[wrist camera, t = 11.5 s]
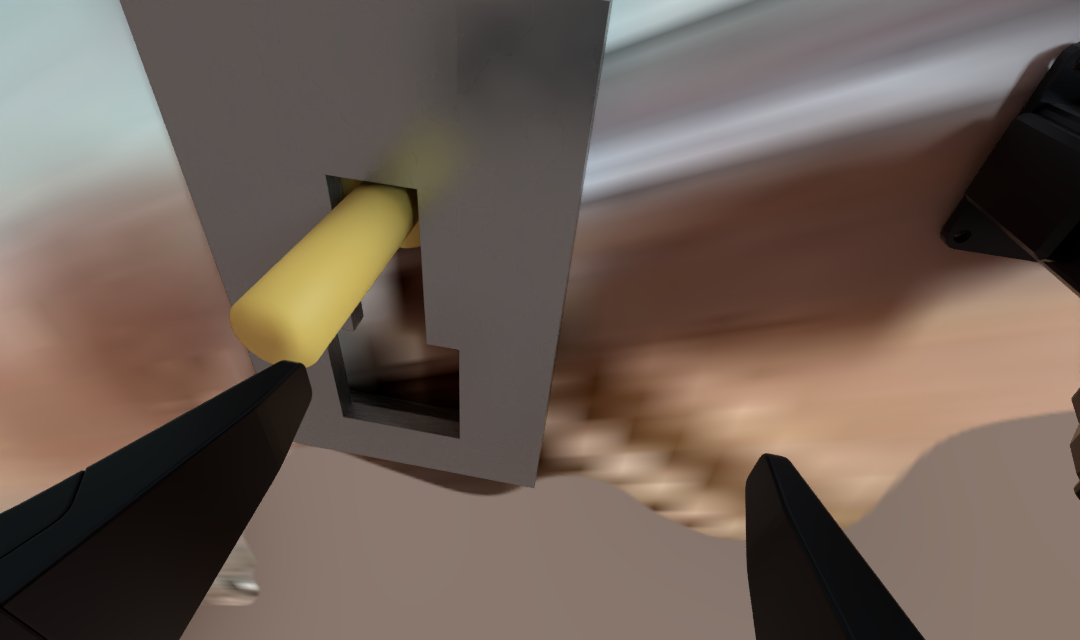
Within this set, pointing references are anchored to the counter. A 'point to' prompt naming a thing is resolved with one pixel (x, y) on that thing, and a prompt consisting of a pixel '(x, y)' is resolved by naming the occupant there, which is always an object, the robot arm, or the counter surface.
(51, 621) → the robot arm
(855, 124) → the counter surface
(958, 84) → the counter surface
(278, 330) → the headed peg
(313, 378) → the keyhole plate
